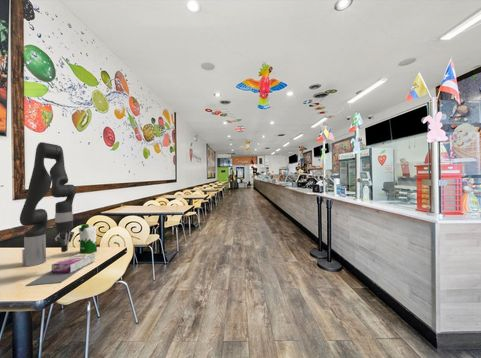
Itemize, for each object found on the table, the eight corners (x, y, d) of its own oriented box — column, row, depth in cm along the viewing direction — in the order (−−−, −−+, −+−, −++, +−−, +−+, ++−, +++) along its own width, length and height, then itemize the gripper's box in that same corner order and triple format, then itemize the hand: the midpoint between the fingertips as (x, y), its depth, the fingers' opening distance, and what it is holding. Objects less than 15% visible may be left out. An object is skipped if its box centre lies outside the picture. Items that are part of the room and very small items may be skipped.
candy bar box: (51, 264, 106) (78, 253, 123) (51, 273, 106) (78, 261, 122) (70, 264, 105) (95, 253, 122) (70, 273, 105) (95, 261, 122)
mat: (25, 285, 94) (25, 285, 94) (57, 268, 114) (57, 267, 114) (61, 282, 96) (61, 281, 96) (86, 265, 116) (86, 264, 116)
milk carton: (77, 254, 136) (76, 225, 136) (90, 249, 145) (90, 222, 145) (86, 255, 133) (85, 225, 133) (99, 250, 142) (99, 223, 142)
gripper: (65, 218, 115) (65, 248, 115) (46, 223, 102) (47, 256, 102) (79, 217, 117) (79, 247, 116) (63, 222, 104) (63, 255, 103)
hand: (64, 251), depth 109 cm, fingers closed
